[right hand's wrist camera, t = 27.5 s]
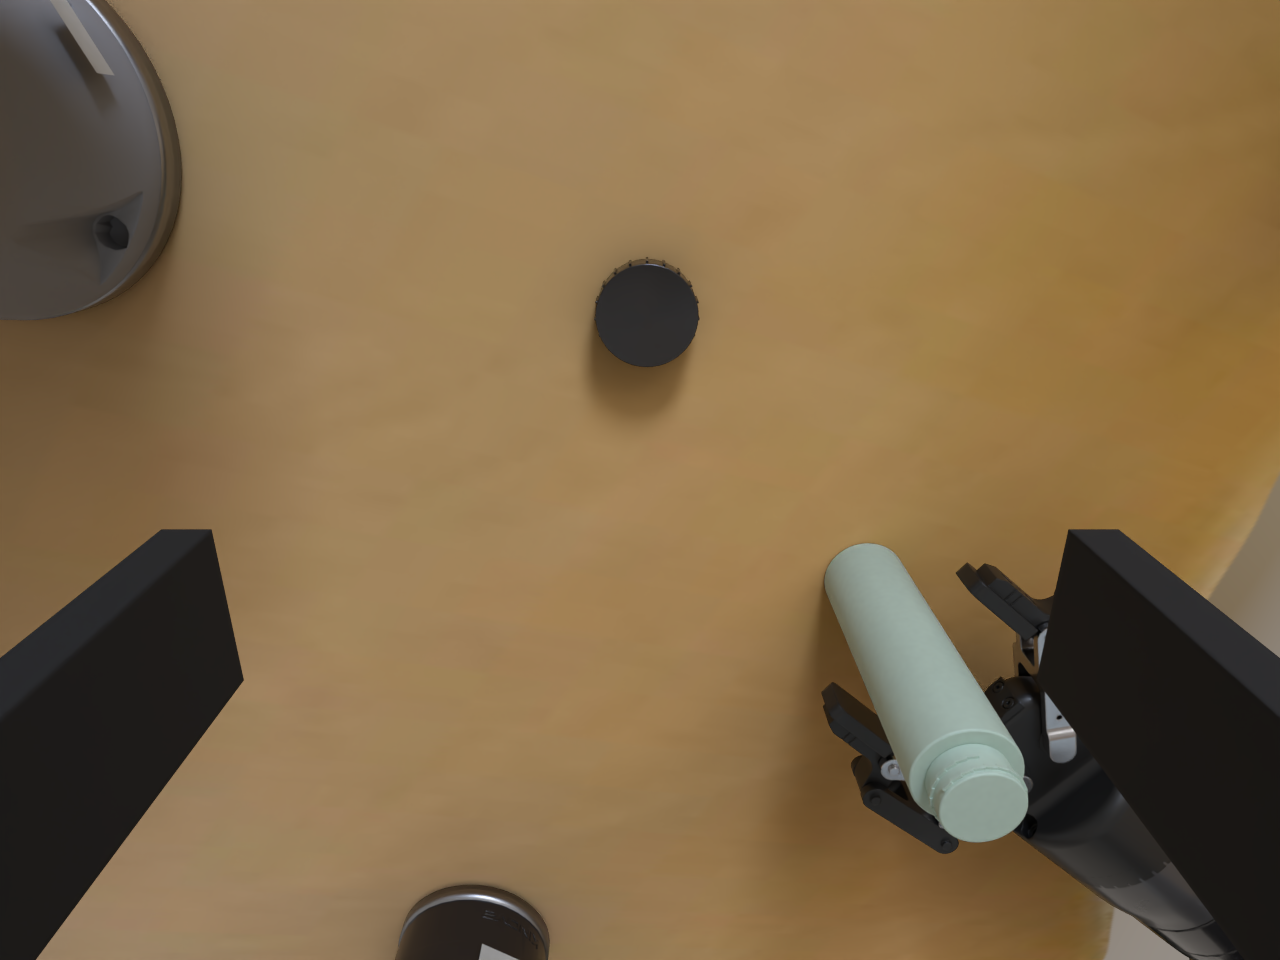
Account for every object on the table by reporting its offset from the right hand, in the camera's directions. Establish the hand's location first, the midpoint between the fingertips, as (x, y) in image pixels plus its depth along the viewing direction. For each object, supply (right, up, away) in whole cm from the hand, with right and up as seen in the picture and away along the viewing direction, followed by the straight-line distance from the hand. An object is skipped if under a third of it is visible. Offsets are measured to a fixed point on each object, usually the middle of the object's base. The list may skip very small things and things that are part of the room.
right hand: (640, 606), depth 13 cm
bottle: (+12, -3, +31) cm, 33 cm away
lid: (0, +9, +24) cm, 26 cm away
